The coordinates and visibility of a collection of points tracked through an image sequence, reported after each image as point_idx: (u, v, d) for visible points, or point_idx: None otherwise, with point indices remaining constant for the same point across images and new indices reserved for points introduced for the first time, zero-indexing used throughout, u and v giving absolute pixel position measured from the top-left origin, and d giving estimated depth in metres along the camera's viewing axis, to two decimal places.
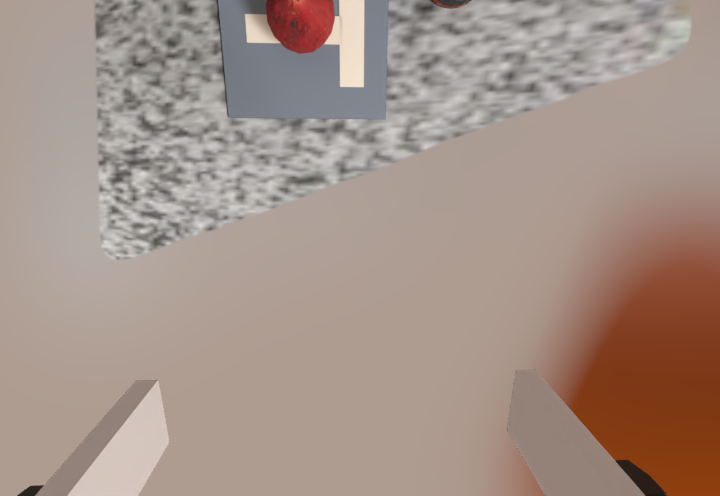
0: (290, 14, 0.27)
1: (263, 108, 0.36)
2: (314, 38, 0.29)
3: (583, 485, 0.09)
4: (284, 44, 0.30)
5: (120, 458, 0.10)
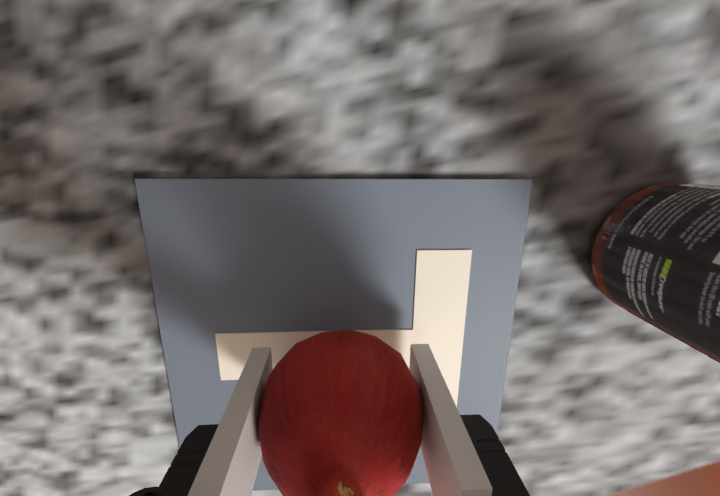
0: None
1: None
2: None
3: (433, 433, 0.11)
4: None
5: (259, 407, 0.12)
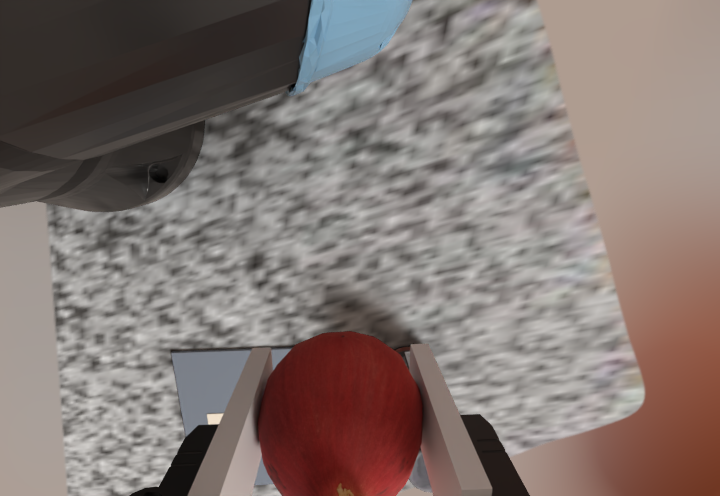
0: None
1: None
2: None
3: (433, 433, 0.11)
4: None
5: (259, 407, 0.12)
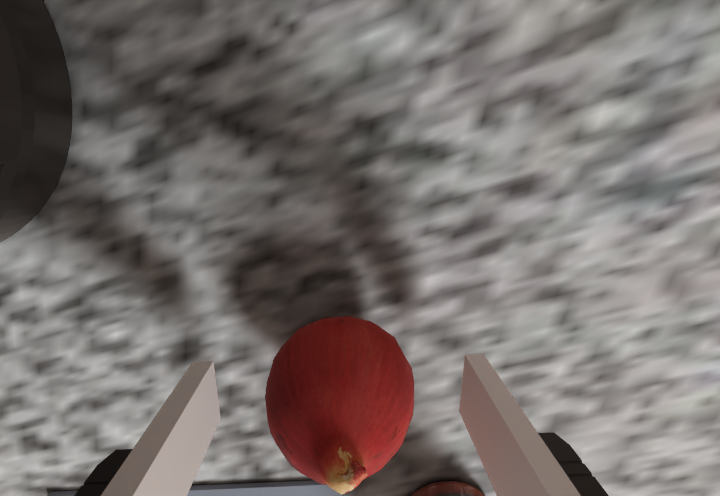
0: (325, 484, 0.11)
1: None
2: None
3: (508, 453, 0.10)
4: None
5: (189, 428, 0.11)
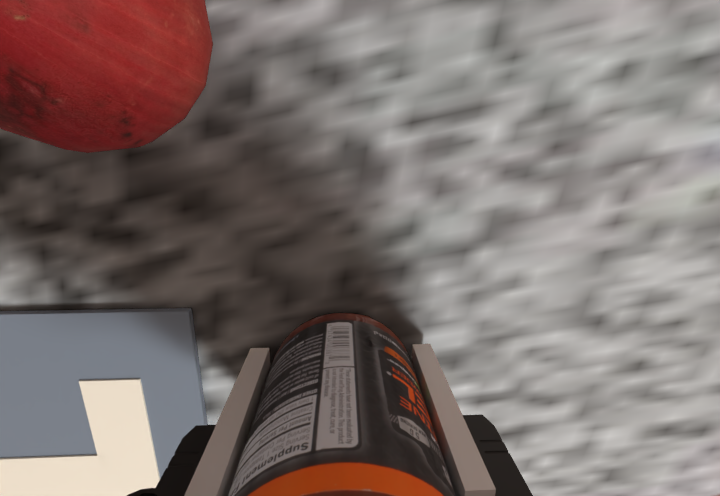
0: None
1: None
2: (109, 120, 0.07)
3: (436, 433, 0.11)
4: None
5: None
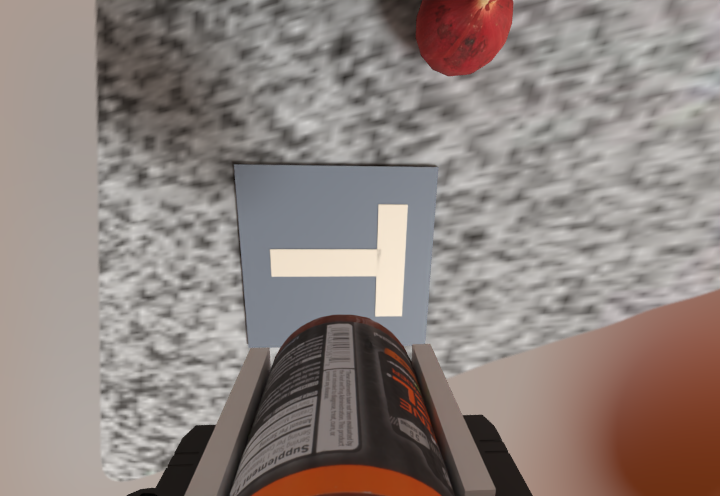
0: (468, 28, 0.20)
1: None
2: (484, 59, 0.22)
3: (436, 433, 0.11)
4: (438, 65, 0.22)
5: (257, 407, 0.12)
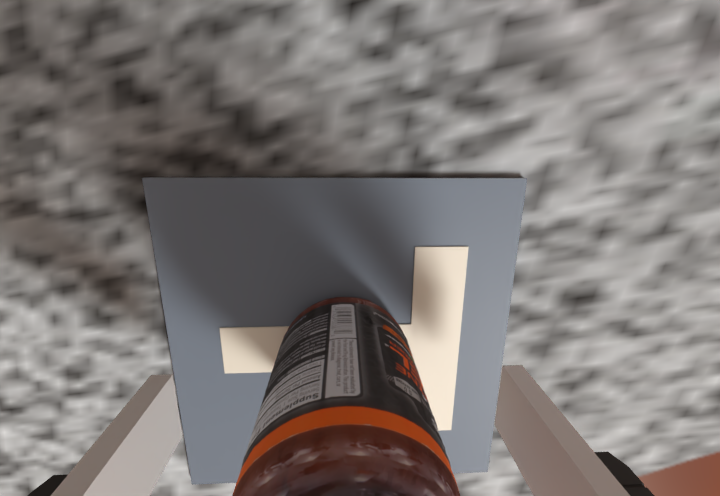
0: None
1: None
2: None
3: (563, 476, 0.10)
4: None
5: (139, 449, 0.11)
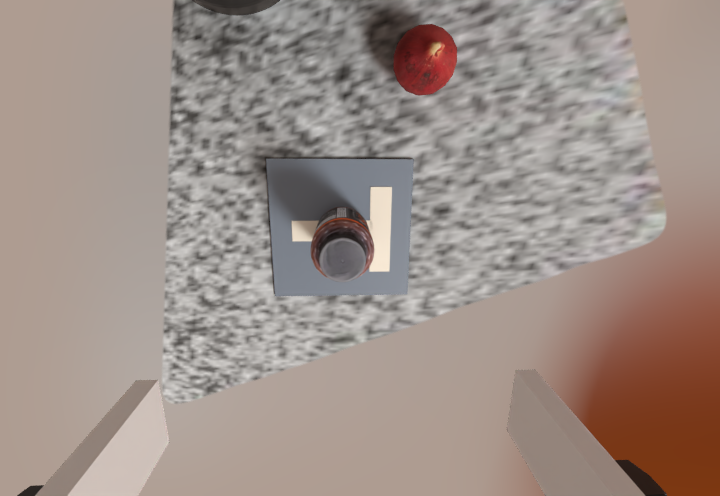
0: (425, 67, 0.30)
1: (304, 288, 0.42)
2: (439, 85, 0.32)
3: (583, 485, 0.09)
4: (408, 88, 0.33)
5: (120, 458, 0.10)
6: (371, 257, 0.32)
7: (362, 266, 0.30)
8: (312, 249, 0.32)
